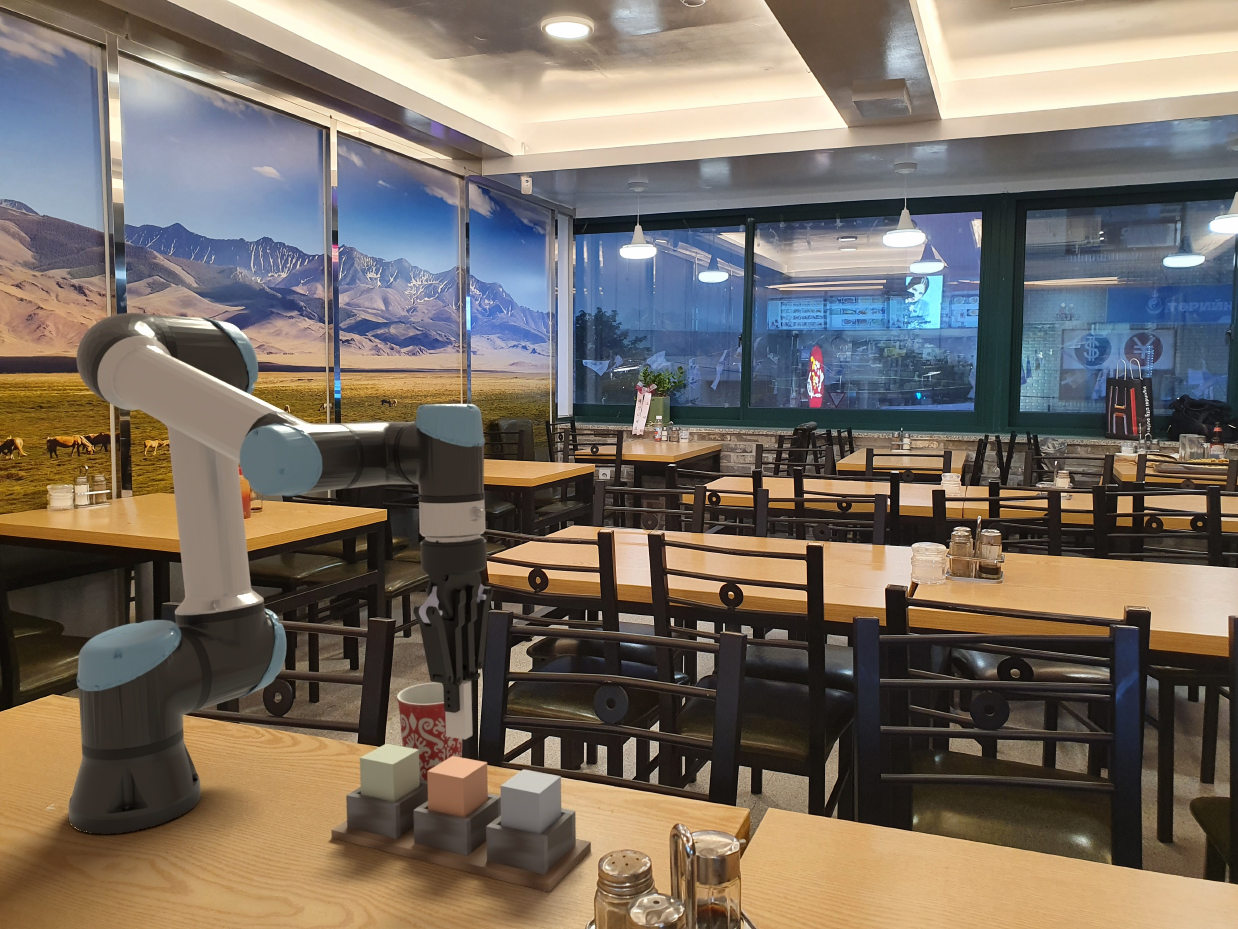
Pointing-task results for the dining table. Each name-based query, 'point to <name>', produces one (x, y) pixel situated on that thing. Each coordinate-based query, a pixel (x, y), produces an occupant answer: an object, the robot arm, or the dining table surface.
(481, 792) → the terracotta button
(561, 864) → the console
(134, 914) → the dining table surface
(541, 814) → the slate button
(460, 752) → the mug
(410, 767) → the sage button
